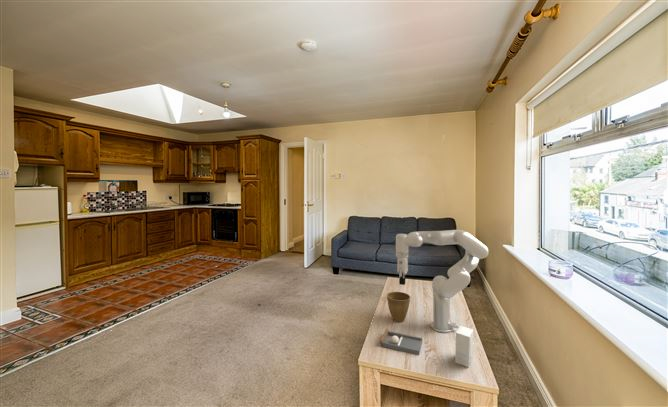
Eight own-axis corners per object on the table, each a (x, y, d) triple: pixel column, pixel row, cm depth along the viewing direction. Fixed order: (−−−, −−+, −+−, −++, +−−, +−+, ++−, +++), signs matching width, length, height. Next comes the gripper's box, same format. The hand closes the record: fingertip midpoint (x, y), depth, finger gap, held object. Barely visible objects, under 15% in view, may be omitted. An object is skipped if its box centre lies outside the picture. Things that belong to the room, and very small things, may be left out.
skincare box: (459, 354, 138) (459, 325, 137) (473, 359, 134) (474, 329, 133) (454, 363, 132) (454, 331, 131) (469, 368, 127) (469, 336, 127)
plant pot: (411, 326, 167) (411, 301, 166) (386, 324, 170) (386, 299, 169) (409, 315, 182) (409, 292, 181) (387, 313, 185) (386, 290, 184)
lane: (422, 341, 150) (422, 335, 150) (419, 355, 138) (419, 348, 138) (386, 334, 158) (386, 328, 158) (380, 346, 147) (380, 339, 146)
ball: (392, 340, 152) (399, 341, 150) (390, 344, 148) (398, 345, 146) (392, 333, 152) (399, 334, 150) (390, 337, 148) (397, 338, 146)
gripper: (406, 257, 156) (406, 289, 157) (410, 251, 170) (410, 280, 171) (393, 256, 159) (393, 287, 160) (398, 251, 173) (398, 279, 174)
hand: (402, 283), depth 165 cm, fingers closed
